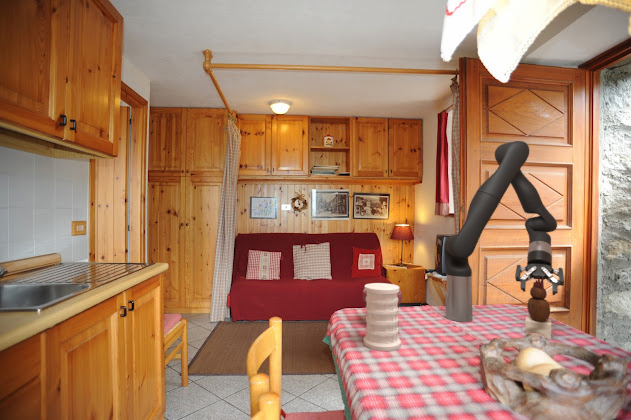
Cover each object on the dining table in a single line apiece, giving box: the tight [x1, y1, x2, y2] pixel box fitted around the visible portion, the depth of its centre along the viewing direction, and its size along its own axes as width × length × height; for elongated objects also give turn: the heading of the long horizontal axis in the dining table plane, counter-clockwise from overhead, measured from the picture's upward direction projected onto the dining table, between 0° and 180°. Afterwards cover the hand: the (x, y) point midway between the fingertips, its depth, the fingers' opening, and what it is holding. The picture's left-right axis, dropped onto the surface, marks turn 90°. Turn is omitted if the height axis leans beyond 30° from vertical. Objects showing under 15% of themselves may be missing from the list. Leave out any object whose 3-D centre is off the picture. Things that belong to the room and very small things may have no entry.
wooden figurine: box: [526, 277, 551, 322], centre depth 110 cm, size 7×6×15 cm
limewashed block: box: [524, 316, 552, 340], centre depth 109 cm, size 7×6×5 cm
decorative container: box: [363, 282, 402, 352], centre depth 102 cm, size 12×12×18 cm
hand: (538, 292), depth 111 cm, fingers open, 8 cm apart
